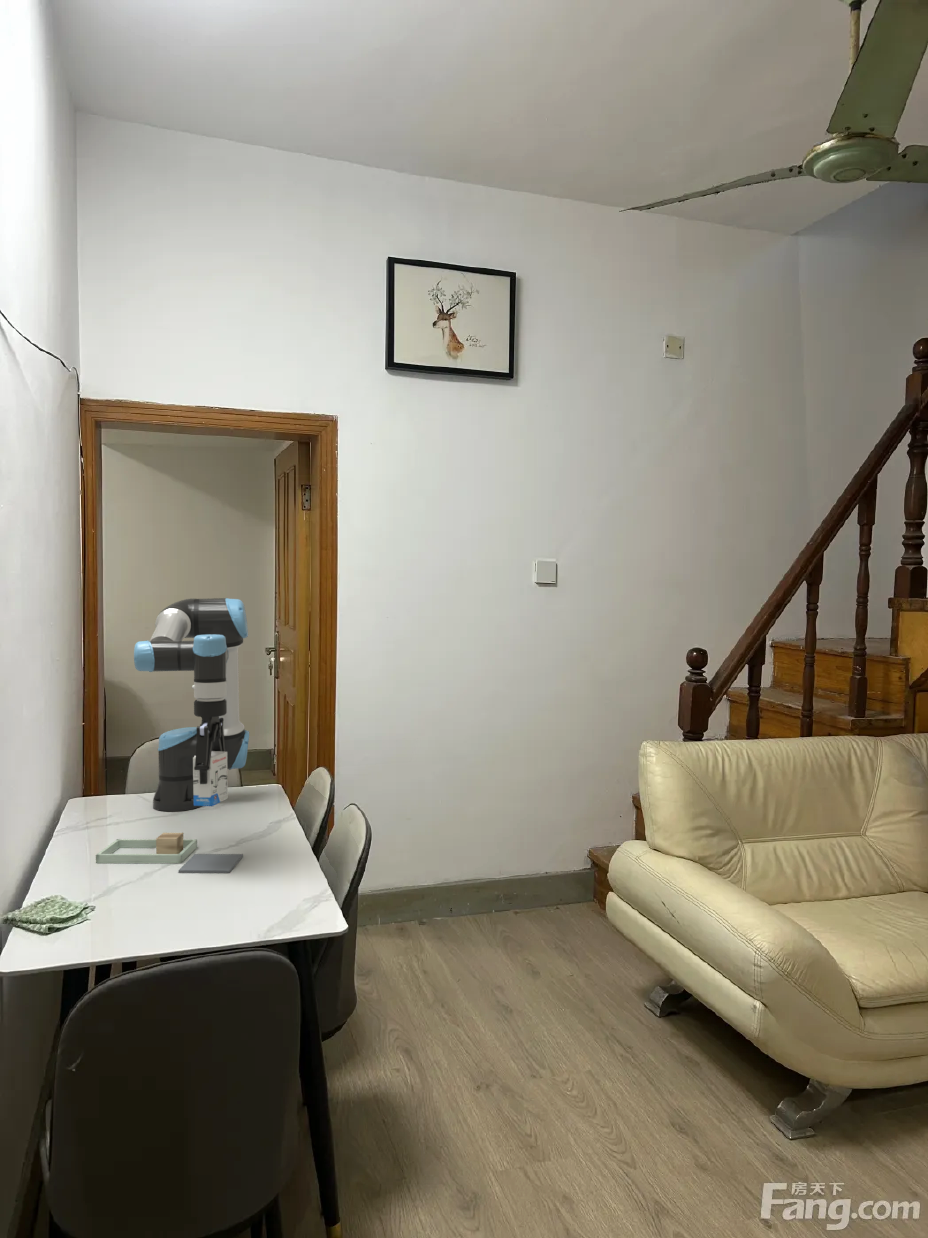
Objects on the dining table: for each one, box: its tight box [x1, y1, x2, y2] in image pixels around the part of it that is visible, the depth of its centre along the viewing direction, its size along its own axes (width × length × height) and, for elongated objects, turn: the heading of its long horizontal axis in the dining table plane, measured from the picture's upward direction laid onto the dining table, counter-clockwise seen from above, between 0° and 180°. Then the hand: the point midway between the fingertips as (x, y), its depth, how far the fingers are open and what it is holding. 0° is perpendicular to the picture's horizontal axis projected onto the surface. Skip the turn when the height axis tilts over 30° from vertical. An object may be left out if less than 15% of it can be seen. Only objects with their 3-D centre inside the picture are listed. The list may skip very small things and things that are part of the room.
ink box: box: [193, 751, 229, 807], centre depth 201 cm, size 9×5×12 cm, turn 168°
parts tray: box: [95, 838, 198, 864], centre depth 209 cm, size 13×21×2 cm, turn 90°
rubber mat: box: [178, 853, 244, 874], centre depth 202 cm, size 12×12×1 cm
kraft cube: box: [155, 832, 184, 854], centre depth 209 cm, size 5×5×5 cm
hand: (211, 791), depth 201 cm, fingers closed on ink box, 9 cm apart
